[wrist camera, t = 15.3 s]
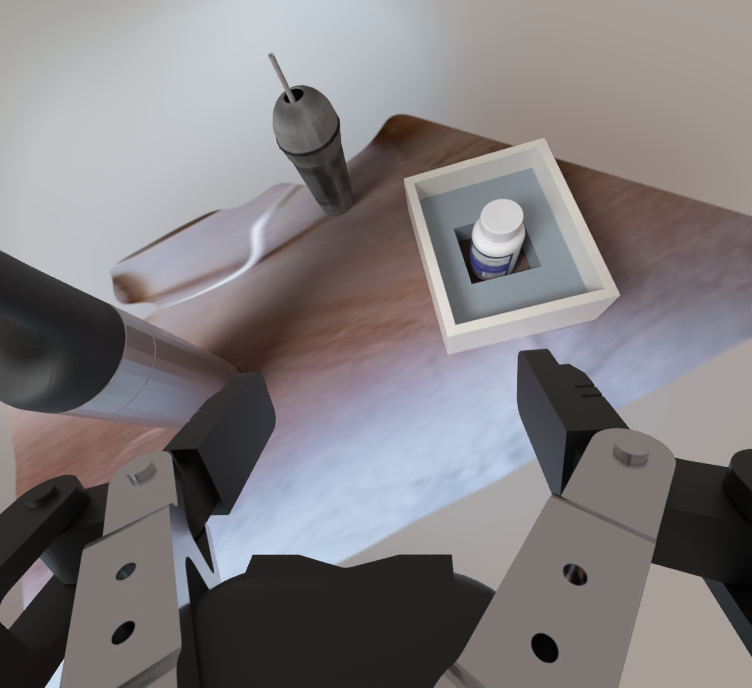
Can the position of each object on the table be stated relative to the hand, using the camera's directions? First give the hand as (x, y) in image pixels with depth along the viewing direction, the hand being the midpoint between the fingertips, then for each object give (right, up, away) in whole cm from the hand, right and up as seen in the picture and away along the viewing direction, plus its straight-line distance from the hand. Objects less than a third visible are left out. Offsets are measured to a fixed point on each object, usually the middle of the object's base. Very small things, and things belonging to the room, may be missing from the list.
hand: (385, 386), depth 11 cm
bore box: (+14, +11, +32) cm, 36 cm away
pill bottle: (+13, +11, +32) cm, 36 cm away
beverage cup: (-6, +21, +39) cm, 45 cm away
